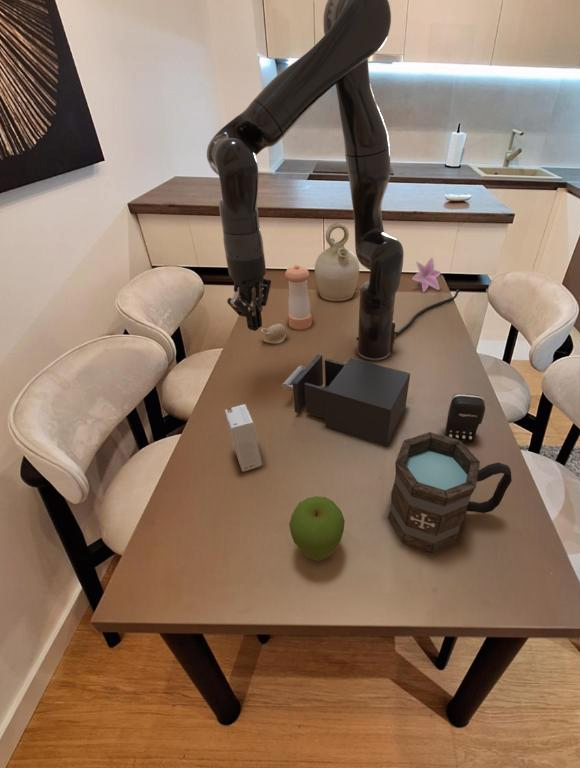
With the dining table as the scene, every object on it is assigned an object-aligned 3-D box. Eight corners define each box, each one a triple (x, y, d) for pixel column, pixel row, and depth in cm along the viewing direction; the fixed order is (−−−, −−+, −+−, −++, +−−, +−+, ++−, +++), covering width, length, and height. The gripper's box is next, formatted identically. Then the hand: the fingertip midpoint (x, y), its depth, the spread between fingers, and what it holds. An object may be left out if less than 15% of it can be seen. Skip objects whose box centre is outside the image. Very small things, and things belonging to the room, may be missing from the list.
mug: (391, 553, 67) (400, 498, 57) (383, 487, 77) (390, 432, 68) (507, 551, 67) (534, 497, 58) (483, 486, 78) (503, 431, 69)
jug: (358, 304, 138) (361, 230, 123) (313, 303, 138) (310, 229, 123) (358, 285, 150) (361, 216, 135) (317, 284, 150) (315, 215, 135)
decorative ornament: (290, 339, 119) (288, 323, 116) (265, 348, 115) (263, 332, 112) (282, 333, 122) (281, 317, 118) (258, 342, 117) (256, 326, 114)
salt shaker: (310, 330, 124) (307, 270, 112) (287, 329, 124) (282, 269, 112) (312, 318, 129) (310, 261, 117) (290, 318, 129) (285, 260, 117)
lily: (405, 293, 149) (416, 276, 141) (405, 269, 154) (417, 252, 146) (433, 302, 152) (446, 285, 143) (433, 279, 157) (446, 262, 149)
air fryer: (325, 427, 90) (324, 390, 83) (349, 392, 100) (350, 357, 93) (386, 447, 86) (390, 410, 79) (405, 408, 96) (410, 373, 89)
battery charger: (443, 443, 87) (453, 403, 80) (442, 430, 90) (451, 391, 83) (476, 446, 86) (488, 406, 79) (474, 433, 89) (486, 394, 82)
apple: (349, 567, 65) (351, 527, 57) (298, 581, 63) (293, 542, 55) (336, 521, 71) (336, 480, 64) (289, 533, 69) (283, 492, 62)
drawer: (278, 407, 94) (275, 377, 88) (304, 378, 103) (302, 349, 97) (348, 429, 88) (349, 399, 83) (368, 396, 97) (370, 367, 92)
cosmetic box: (263, 465, 81) (255, 422, 73) (241, 473, 79) (231, 429, 72) (255, 445, 85) (247, 402, 78) (233, 452, 83) (223, 408, 76)
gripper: (240, 267, 74) (252, 346, 85) (278, 245, 84) (285, 318, 94) (207, 260, 76) (223, 338, 87) (248, 239, 86) (258, 311, 97)
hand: (255, 327), depth 91 cm, fingers closed
